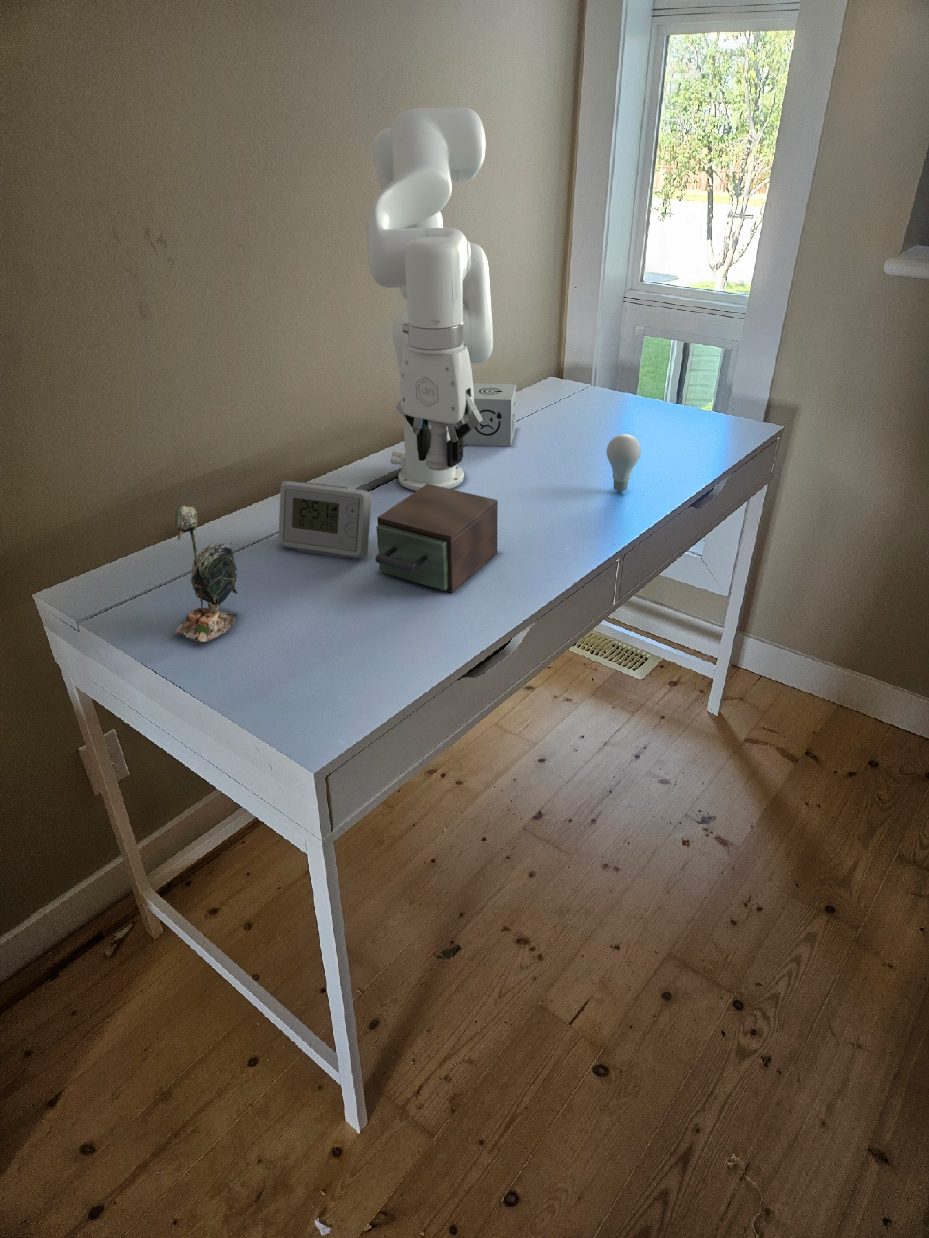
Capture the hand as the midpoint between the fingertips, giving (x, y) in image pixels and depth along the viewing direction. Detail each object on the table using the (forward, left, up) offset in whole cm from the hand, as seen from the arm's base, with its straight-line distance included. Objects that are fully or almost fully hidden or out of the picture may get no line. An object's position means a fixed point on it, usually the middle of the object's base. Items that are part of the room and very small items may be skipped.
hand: (440, 459), depth 124 cm
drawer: (0, -5, -16) cm, 17 cm away
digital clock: (-19, -6, -17) cm, 26 cm away
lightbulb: (+15, +38, -17) cm, 44 cm away
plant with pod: (-19, -32, -17) cm, 41 cm away
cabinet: (0, -1, -17) cm, 17 cm away
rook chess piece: (0, 0, -1) cm, 1 cm away
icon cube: (-20, +51, -17) cm, 58 cm away
